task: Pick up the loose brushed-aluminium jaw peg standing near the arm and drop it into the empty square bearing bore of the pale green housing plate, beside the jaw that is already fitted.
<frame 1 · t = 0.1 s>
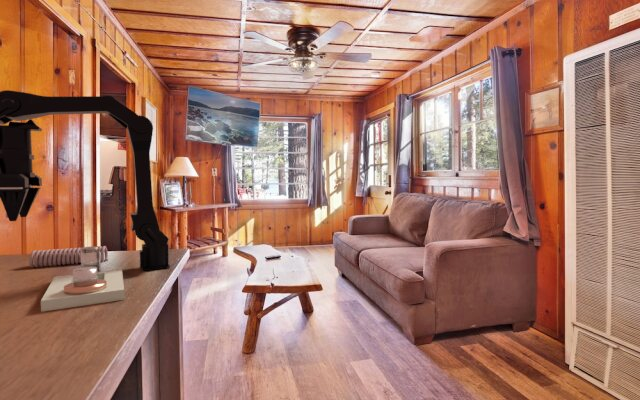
hand: (18, 218, 80), 15 cm above the table, fingers open, 9 cm apart
housing: (87, 292, 74), on the table
loose jaw: (91, 276, 86), on the table
coil: (71, 265, 99), on the table
fitted jaw: (86, 299, 69), resting on housing
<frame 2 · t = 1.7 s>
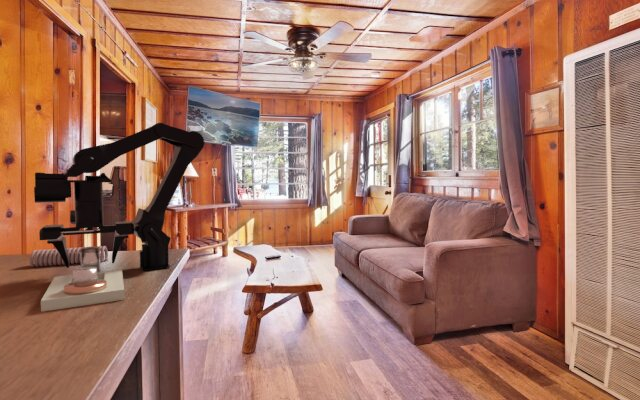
hand: (91, 265, 86), 3 cm above the table, fingers open, 9 cm apart
nothing on the table moved.
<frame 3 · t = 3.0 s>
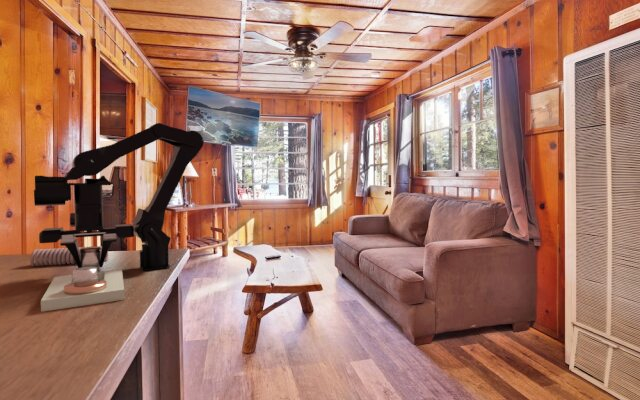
hand: (90, 268, 86), 2 cm above the table, fingers closed on loose jaw, 4 cm apart
loose jaw: (91, 276, 86), on the table, touching gripper
everything else where it was.
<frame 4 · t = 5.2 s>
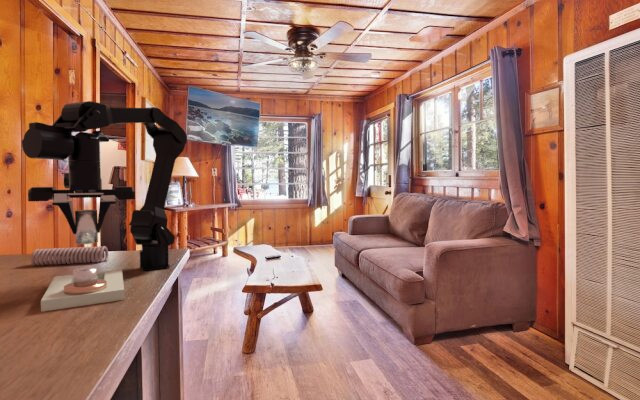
hand: (86, 233, 77), 12 cm above the table, fingers closed on loose jaw, 4 cm apart
loose jaw: (87, 242, 77), point 10 cm above the table, touching gripper
everything else where it was.
when the fingers open (4 cm above the table, at t = 6.9 s): loose jaw drops 2 cm, resting in housing.
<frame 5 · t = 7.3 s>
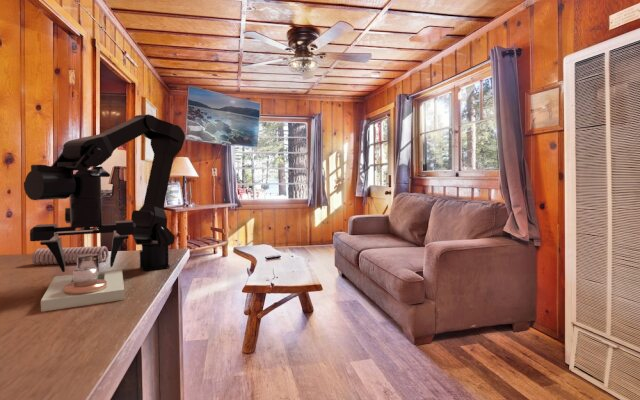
hand: (88, 269, 77), 4 cm above the table, fingers open, 8 cm apart
loose jaw: (88, 287, 77), resting in housing
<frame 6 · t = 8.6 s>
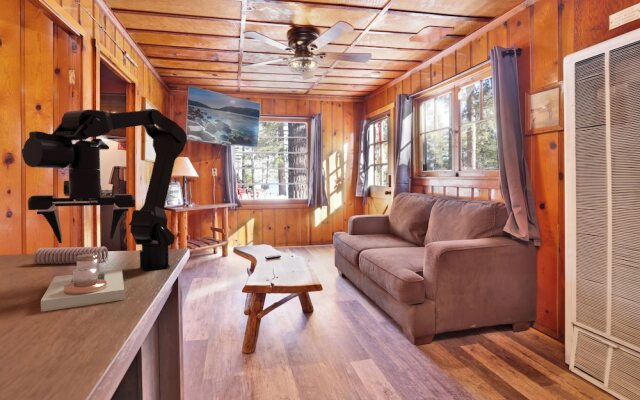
hand: (86, 241, 77), 10 cm above the table, fingers open, 9 cm apart
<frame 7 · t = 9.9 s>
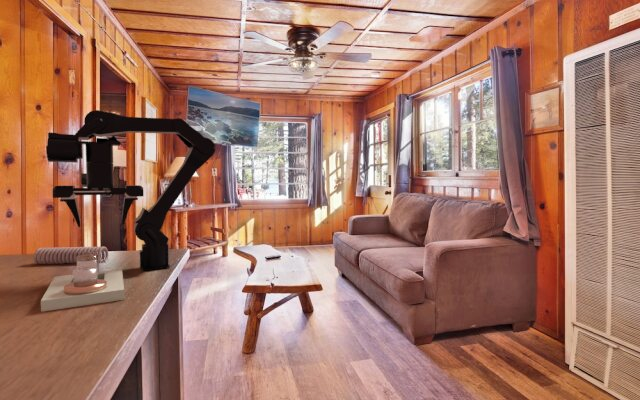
hand: (101, 225, 88), 12 cm above the table, fingers open, 9 cm apart
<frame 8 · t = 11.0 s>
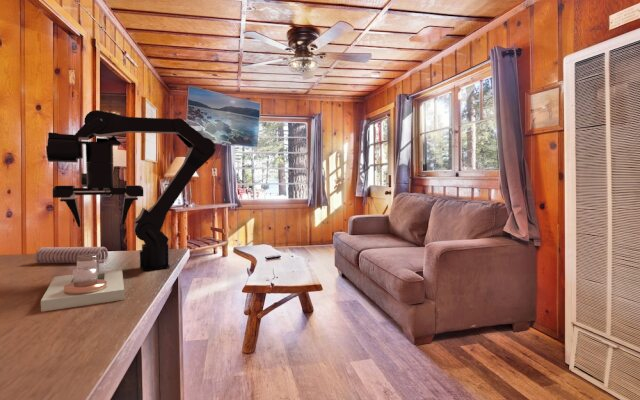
hand: (101, 225, 88), 12 cm above the table, fingers open, 9 cm apart
at the end: loose jaw 0.0 cm from the target spot on the housing, point 0.0 cm above the housing's base; loose jaw tilted 0°; the gripper is holding nothing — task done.
